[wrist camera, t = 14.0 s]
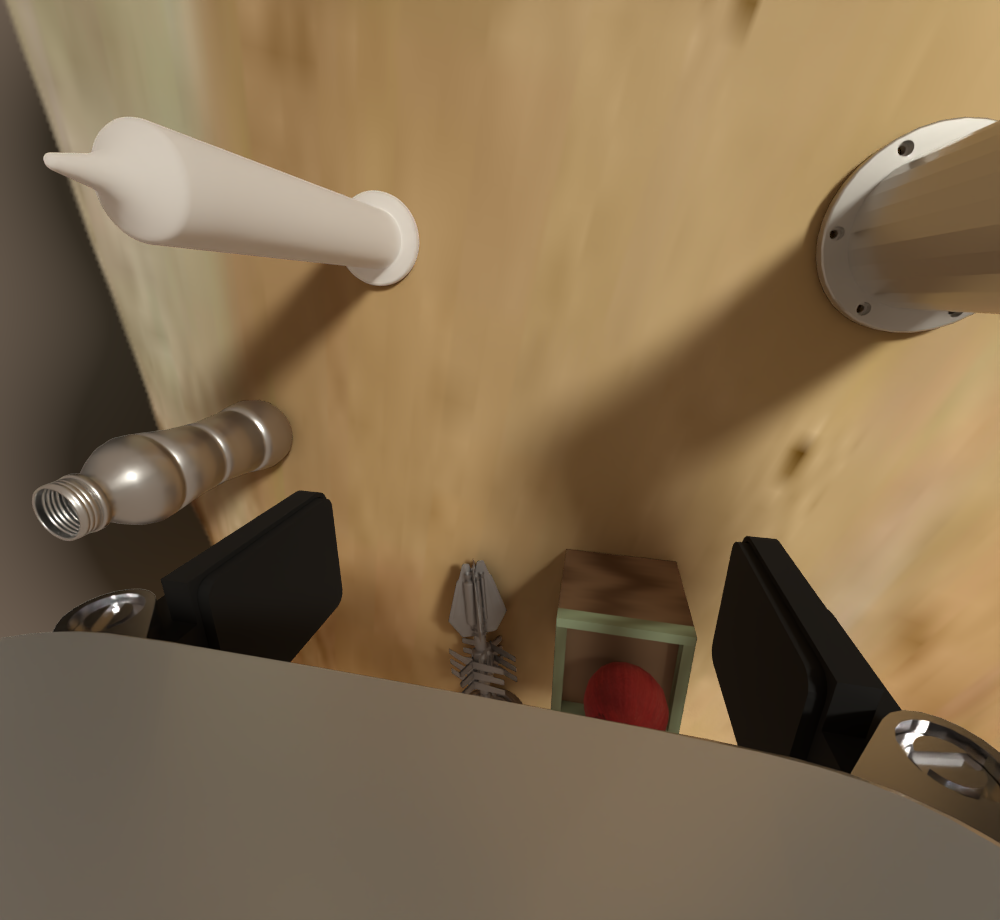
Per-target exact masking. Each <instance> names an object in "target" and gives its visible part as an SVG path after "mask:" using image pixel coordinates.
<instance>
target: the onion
mask: <svg viewBox="0 0 1000 920" xmlns="http://www.w3.org/2000/svg"><path fill="white" fill-rule="evenodd" d="M583 702H584V711H585V715H586V716H587V717H593V718H598V719H603V720H609V721H614V722H619V723H625V724H630V725H635V726H641V727H646V728H651V729H656V730H662V731H666V727H667V724H668V720H669V709H668V706H667V702H666V698H665V695H664V691H663V689H662V688H661V686H660V685H659V684H658V683H657V681H656V680H655V679H654V678H653V677H652V675H651V674H650V673H648V672H647V671H645V670H644V669H642V668H641V667H639V666H636V665H633V664H630V663H627V662H612V663H609V664H606V665H604V666H601V667H600V668H599V669H598V670H597V671H596V672H595V673H594V674H593V676H592V677H591V678H590V679H589V681H588V684H587V687H586V690H585V695H584V699H583Z"/></svg>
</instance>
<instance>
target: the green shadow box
mask: <svg viewBox="0 0 1000 920" xmlns="http://www.w3.org/2000/svg"><path fill="white" fill-rule="evenodd" d="M696 641H697V636H696V632H695V628H694V625H693V621H692V617H691V614H690V610H689V606H688V603H687V599H686V596H685V592H684V588H683V585H682V581H681V577H680V574H679V570H678V566H677V563H676V562H673V561H665V560H656V559H647V558H639V557H630V556H621V555H612V554H604V553H595V552H586V551H578V550H569V549H566V556H565V563H564V570H563V577H562V584H561V591H560V598H559V605H558V612H557V621H556V637H555V653H554V668H553V684H552V700H551V710H555V711H561V712H566V713H571V714H577V715H582V716H586V715H585V711H584V702H583V699H584V695H585V690H586V687H587V684H588V681H589V679H590V678H591V677H592V676H593V674H594V673H595V672H596V671H597V670H598V669H599V668H600V667H601V666H604V665H606V664H609V663H612V662H627V663H630V664H633V665H636V666H639V667H641V668H642V669H644V670H645V671H647V672H648V673H650V674H651V675H652V677H653V678H654V679H655V680H656V681H657V683H658V684H659V685H660V686H661V688H662V689H663V691H664V695H665V698H666V702H667V706H668V709H669V720H668V724H667V727H666V731H667V732H672V733H678V734H679V730H680V725H681V719H682V714H683V709H684V704H685V698H686V693H687V688H688V683H689V678H690V672H691V667H692V662H693V657H694V651H695V646H696Z"/></svg>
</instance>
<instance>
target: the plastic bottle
mask: <svg viewBox="0 0 1000 920" xmlns="http://www.w3.org/2000/svg"><path fill="white" fill-rule="evenodd" d="M291 444H292V429H291V426H290V423H289V421H288V419H287V418H286V416H285V415H284V414H283V412H281V411H280V410H279V409H278V408H276V407H275V406H273V405H272V404H270V403H268V402H265V401H261V400H247V401H240V402H237V403H235V404H233V405H231V406H229V407H227V408H225V409H224V410H222V411H221V412H219V413H217V414H215V415H213V416H210V417H208V418H205V419H203V420H201V421H198V422H196V423H192V424H188V425H184V426H180V427H176V428H171V429H167V430H160V431H153V432H146V433H138V434H130V435H125V436H121V437H117V438H113V439H110V440H109V441H107V442H106V443H104V444H103V445H101V446H100V447H98V448H97V449H95V451H94V452H93V453H92V454H91V456H90V457H89V459H88V460H87V461H86V463H85V464H84V466H83V468H82V470H81V472H80V474H75V473H74V474H69V475H67V476H63V477H61V478H60V479H58V480H57V481H55V482H52V483H49V484H46V485H44V486H41V487H40V488H38V489H36V491H35V492H34V493H33V496H32V506H33V510H34V512H35V515H36V516H37V518H38V520H39V522H40V523H41V524H42V525H43V527H44V528H45V529H46V530H47V531H48V532H50V533H51V534H52V535H54V536H55V537H57V538H60V539H62V540H65V541H72V540H75V539H79V538H80V537H83V536H84V535H87V534H89V533H91V532H96V531H99V530H101V529H103V528H105V527H107V526H108V524H109V523H110V522H115V523H120V524H136V525H144V524H149V523H155V522H160V521H162V520H164V519H166V518H168V517H169V516H171V515H173V514H175V513H176V512H177V511H179V510H180V509H182V508H183V507H185V506H186V505H187V504H189V503H190V502H192V501H193V500H195V499H196V498H197V497H199V496H200V495H202V494H203V493H205V492H207V491H208V490H210V489H212V488H214V487H216V486H217V485H219V484H221V483H223V482H225V481H227V480H229V479H232V478H235V477H238V476H240V475H243V474H246V473H249V472H254V471H259V470H263V469H266V468H269V467H272V466H274V465H276V464H277V463H278V462H279V461H280V460H282V459H283V458H284V457H285V456H286V455H287V454H288V452H289V450H290V448H291Z"/></svg>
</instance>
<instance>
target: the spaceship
mask: <svg viewBox="0 0 1000 920" xmlns="http://www.w3.org/2000/svg"><path fill="white" fill-rule="evenodd" d="M506 611H507V610H506V608H505V606H504V603H503V601H502V598H501V596H500V594H499V591H498V589H497V587H496V584H495V582H494V580H493V577H492V575H490V574H489V572H488V570H487V568H486V565H485V563H484V561H483V560H481V561H477V564H476V566H475V564H474V560H473V565H472V568H470V566H469V564H463V565H462V568H461V572H460V577H459V580H458V581H457V583H456V588H455V593H454V598H453V602H452V607H451V612H450V616H449V622H450V624H451V625H452V626H453V627H454V628H455V629H456V630H457V631H458V633H459V634H460V635H461V636H462V637H468V636H474V640H472V639H466V638H462V642H463V643H466V644H470V645H474V646H475V648H473V649H470V648H465V647H463V651H464V652H465V653H469V654H472V658H469V657H463V656H461V655H459V654H458V653H456V652H454V651H452V650H450V649H449V653H450V654H451V655H452V656H454V657H455V658H457V659H458V660H460V661H461V662H463V663H464V664H466V666H465V667H464V666H462V665H461V664H459V663H457V662H456V661H454V660H452V659H450V662H451V664H452V665H454V666H455V667H457V668H458V669H460V670H461V671H460V672H457V671H455V670H454V669H452V668H451V671H452V673H453V674H454V675H456V676H457V677H458V678H460V679H461V680H462V682H461V683H460V684H461V687H462V688H464V687H465V686H466V685H467V684H468V686H467V687H466V689H465V690H464V691H463V692H462V693H464V694H469V695H474V696H480V697H485V698H491V699H496V700H501V701H507V702H512V703H518V704H522V702H521V701H520V699H519V698H518V697H517V696H516V695H514V694H513V693H511V692H509V691H507V690H504V689H500V688H495V687H492V686H490V682H491V683H496V684H501V685H504V680H502V679H499V678H495V677H494V675H493V673H496V674H501V675H505V676H507V677H509V678H510V679H512V680H514V681H516V682H517V677H516V676H514V675H513V674H511V673H509V672H508V671H506V670H505V669H503V668H501V667H500V666H498V664H499V663H500V664H502V665H504V666H505V667H507V668H509V669H511V670H513V671H515V672H516V667H515V666H513V665H512V664H510V663H508V662H507V661H505V660H503V656H504V657H506V658H508V659H510V660H512V661H514V662H516V659H515V657H514V656H513V655H511V654H509V653H507V652H506V651H504V650H502V646H501V645H499V646H498V647H497V645H498V644H499V643H500V642H501V640H502V638H501V636H500V635H499V636H498V637H497V638H496V639H494V640H493V641H492V642H491V641H490V643H489V642H486V634H487V633H488V632H491V631H495V630H497V628H498V626H499V624H500V622H501V620H502V618H503V617H504V615H505V613H506ZM486 632H487V633H486ZM498 654H500V655H499V656H497V655H498ZM466 674H467V676H465V675H466ZM475 689H478V690H475ZM472 690H475V691H472ZM471 691H472V692H471Z"/></svg>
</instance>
